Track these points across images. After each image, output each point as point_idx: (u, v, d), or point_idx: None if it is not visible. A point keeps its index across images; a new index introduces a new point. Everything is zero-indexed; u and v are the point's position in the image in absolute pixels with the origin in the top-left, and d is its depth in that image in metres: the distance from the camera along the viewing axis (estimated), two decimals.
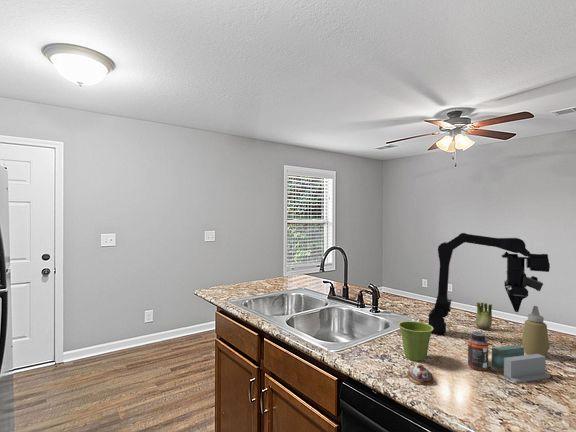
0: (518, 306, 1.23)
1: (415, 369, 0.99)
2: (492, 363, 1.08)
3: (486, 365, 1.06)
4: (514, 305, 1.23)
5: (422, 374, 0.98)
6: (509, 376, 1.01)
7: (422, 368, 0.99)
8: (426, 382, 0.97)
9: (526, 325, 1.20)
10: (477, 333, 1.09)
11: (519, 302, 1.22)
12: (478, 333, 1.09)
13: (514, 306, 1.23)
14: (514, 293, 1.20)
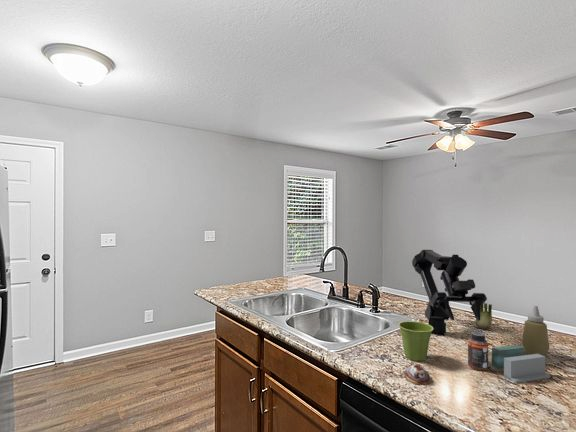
0: (449, 313, 1.18)
1: (412, 369, 0.99)
2: (492, 363, 1.08)
3: (486, 365, 1.06)
4: (447, 314, 1.20)
5: (419, 374, 0.98)
6: (509, 376, 1.01)
7: (419, 368, 0.99)
8: (423, 382, 0.97)
9: (526, 325, 1.20)
10: (477, 333, 1.09)
11: (446, 308, 1.20)
12: (478, 333, 1.09)
13: (448, 315, 1.19)
14: (433, 301, 1.24)
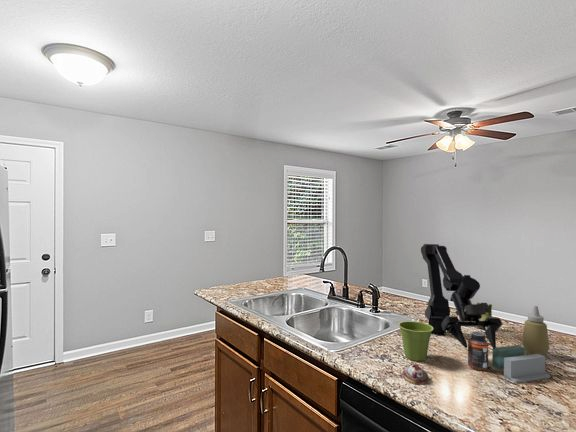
0: (462, 340, 1.09)
1: (410, 369, 1.00)
2: (493, 363, 1.08)
3: (486, 365, 1.06)
4: (459, 340, 1.10)
5: (417, 373, 0.98)
6: (509, 376, 1.01)
7: (417, 367, 0.99)
8: (421, 381, 0.97)
9: (526, 325, 1.20)
10: (477, 333, 1.09)
11: (459, 334, 1.10)
12: (478, 333, 1.09)
13: (460, 342, 1.10)
14: (443, 326, 1.14)
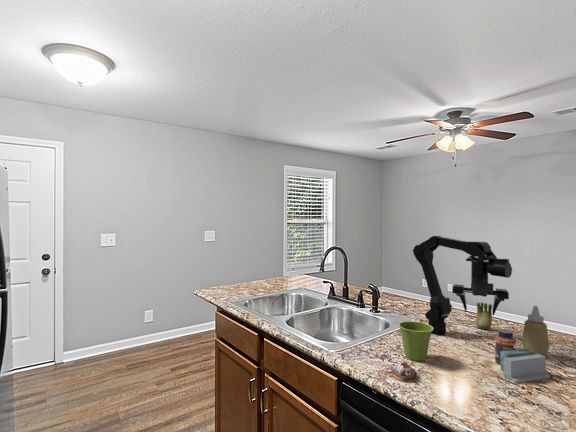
0: None
1: (399, 367, 1.01)
2: (501, 367, 1.05)
3: None
4: None
5: (405, 371, 0.99)
6: (509, 376, 1.01)
7: (405, 365, 1.00)
8: (409, 379, 0.98)
9: (526, 325, 1.20)
10: (504, 330, 1.10)
11: None
12: (505, 330, 1.10)
13: None
14: None
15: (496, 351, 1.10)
